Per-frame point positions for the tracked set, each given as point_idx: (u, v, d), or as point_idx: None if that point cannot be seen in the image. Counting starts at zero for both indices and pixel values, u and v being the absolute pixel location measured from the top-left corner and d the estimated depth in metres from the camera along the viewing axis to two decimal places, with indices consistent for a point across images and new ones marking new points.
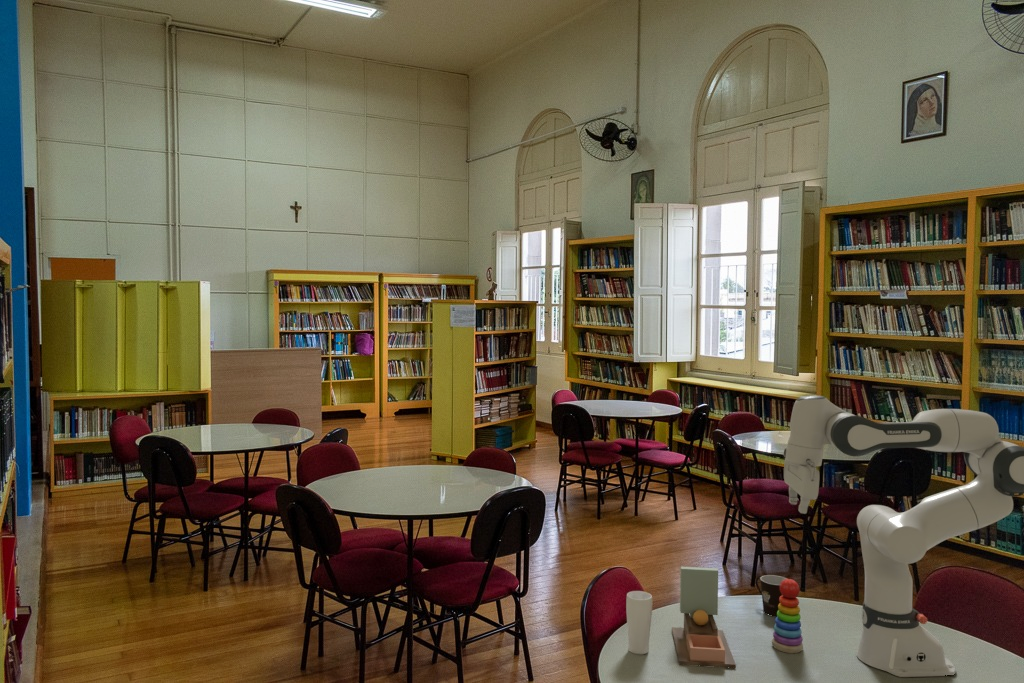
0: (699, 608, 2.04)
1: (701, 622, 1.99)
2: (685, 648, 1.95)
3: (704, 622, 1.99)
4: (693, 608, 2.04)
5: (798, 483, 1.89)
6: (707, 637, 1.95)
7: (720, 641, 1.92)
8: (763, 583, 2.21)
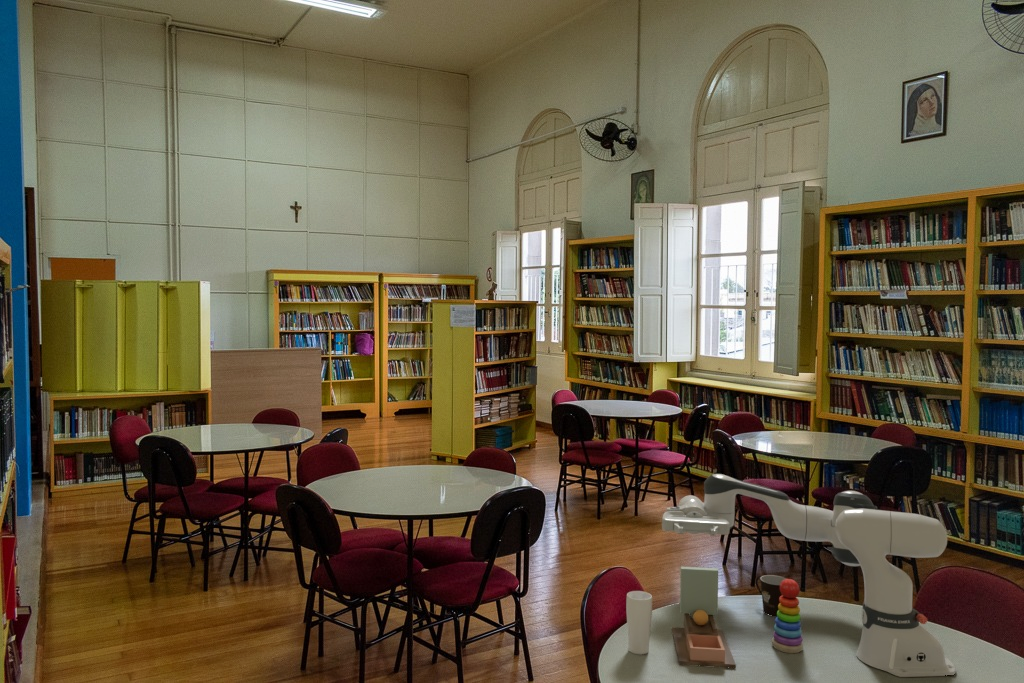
0: (699, 608, 2.04)
1: (701, 622, 1.99)
2: (685, 648, 1.95)
3: (704, 622, 1.99)
4: (693, 608, 2.04)
5: (711, 520, 2.26)
6: (707, 637, 1.95)
7: (720, 641, 1.92)
8: (763, 583, 2.21)
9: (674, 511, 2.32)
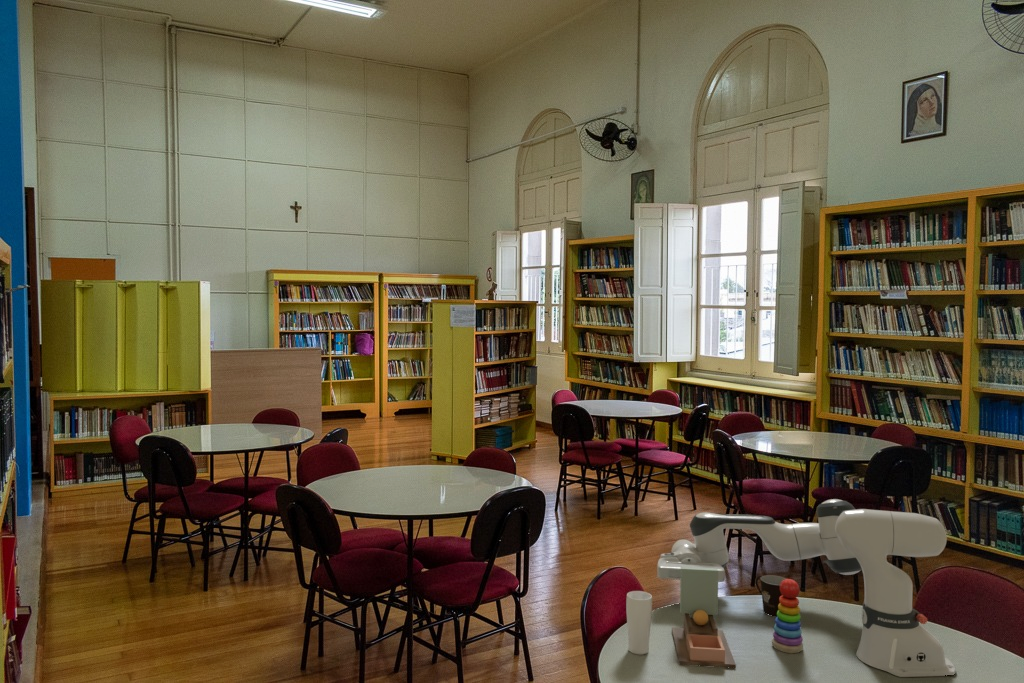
0: (699, 608, 2.04)
1: (701, 622, 1.99)
2: (685, 648, 1.95)
3: (704, 622, 1.99)
4: (693, 608, 2.04)
5: (706, 566, 2.25)
6: (707, 637, 1.95)
7: (720, 641, 1.92)
8: (763, 583, 2.21)
9: (669, 557, 2.30)
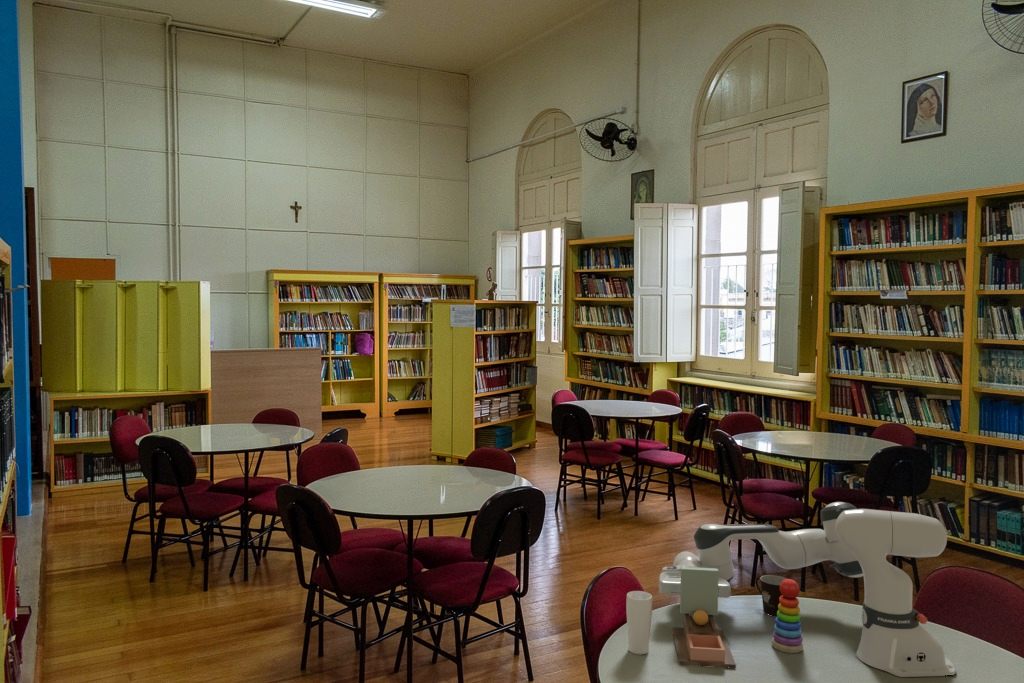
0: (699, 608, 2.04)
1: (701, 622, 1.99)
2: (685, 648, 1.95)
3: (704, 622, 1.99)
4: (693, 608, 2.04)
5: None
6: (707, 637, 1.95)
7: (720, 641, 1.92)
8: (763, 583, 2.21)
9: (671, 571, 2.18)
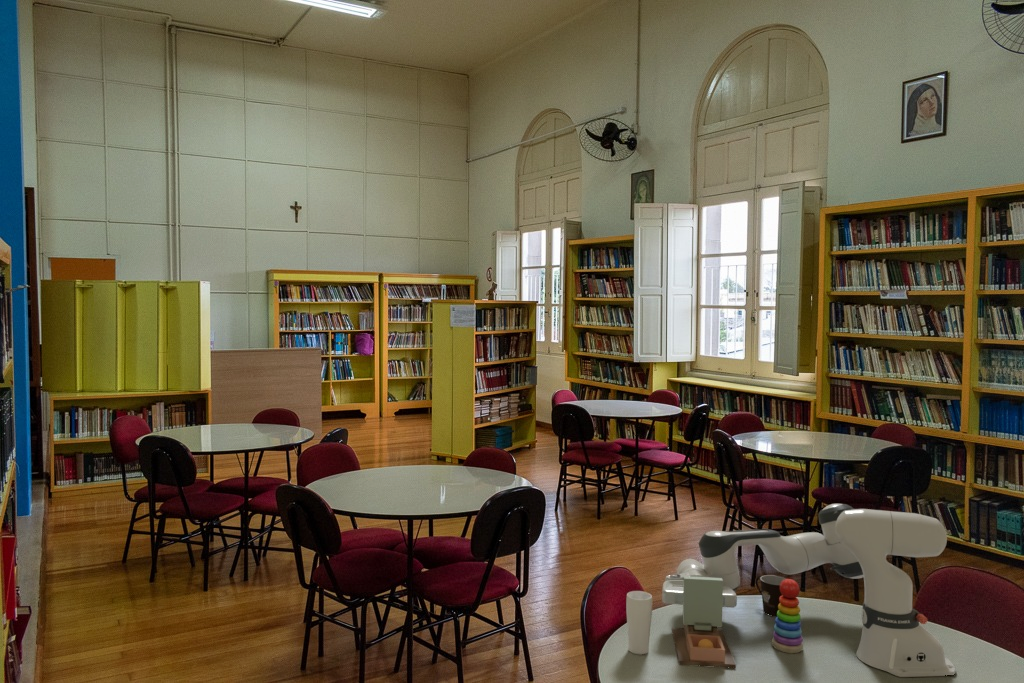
0: (703, 619, 1.96)
1: (707, 647, 1.89)
2: (685, 648, 1.95)
3: (709, 647, 1.89)
4: (697, 619, 1.97)
5: None
6: (707, 637, 1.95)
7: (720, 641, 1.92)
8: (763, 583, 2.21)
9: (675, 580, 2.10)
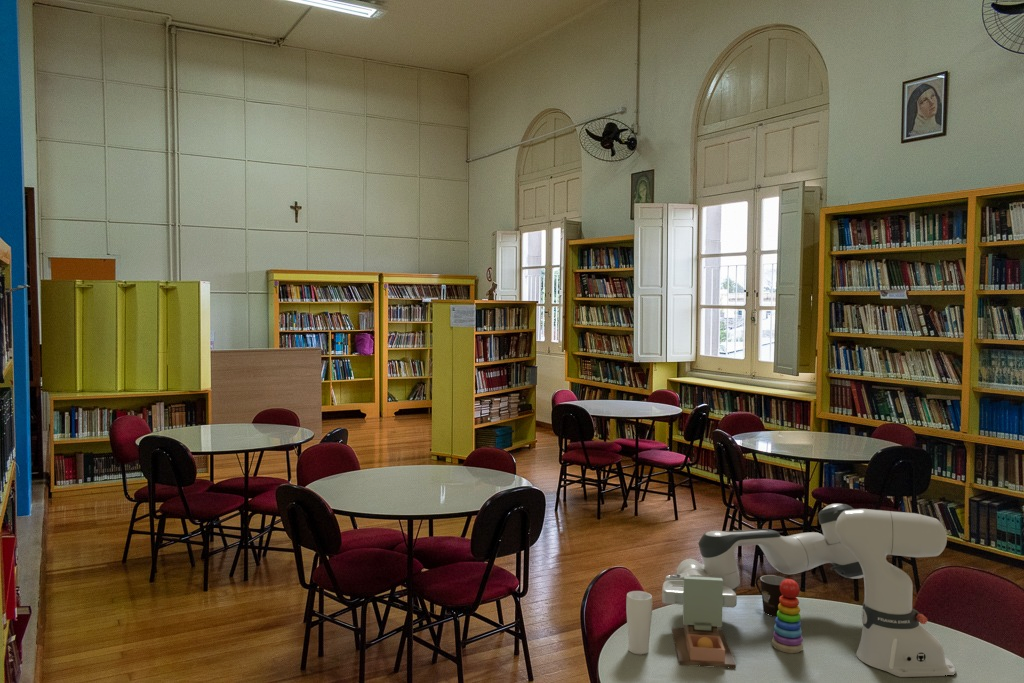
0: (703, 619, 1.96)
1: (706, 640, 1.91)
2: (685, 648, 1.95)
3: (708, 641, 1.91)
4: (697, 619, 1.97)
5: None
6: None
7: (720, 641, 1.92)
8: (763, 583, 2.21)
9: (675, 580, 2.11)
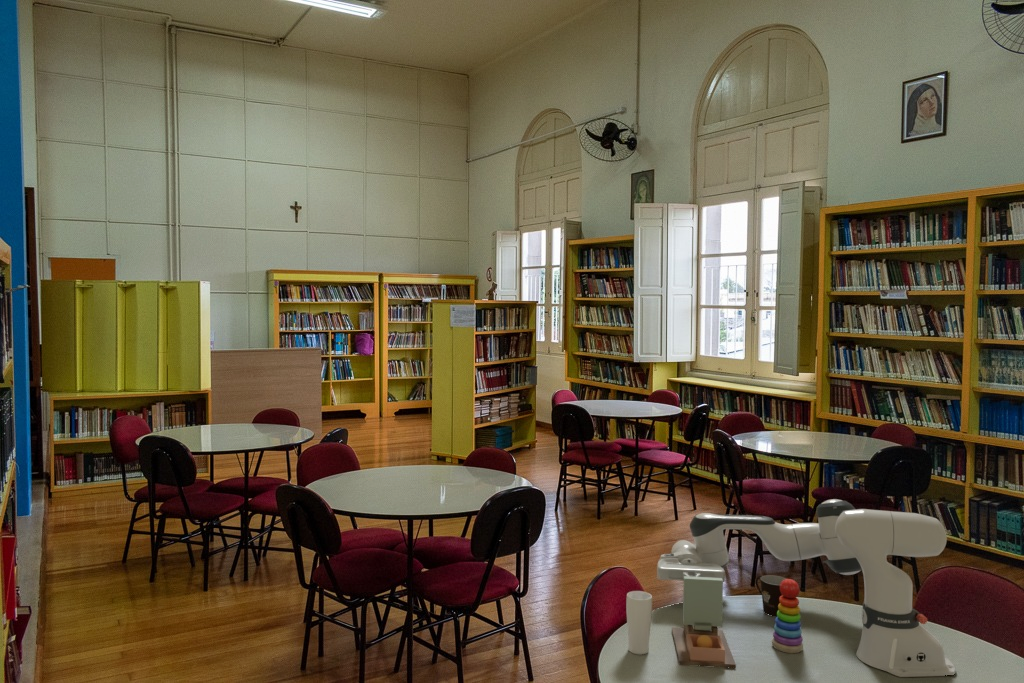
0: (703, 619, 1.96)
1: (705, 635, 1.93)
2: (685, 648, 1.95)
3: (707, 636, 1.93)
4: (697, 619, 1.97)
5: (706, 567, 2.25)
6: None
7: (720, 641, 1.92)
8: (763, 583, 2.21)
9: (669, 558, 2.30)
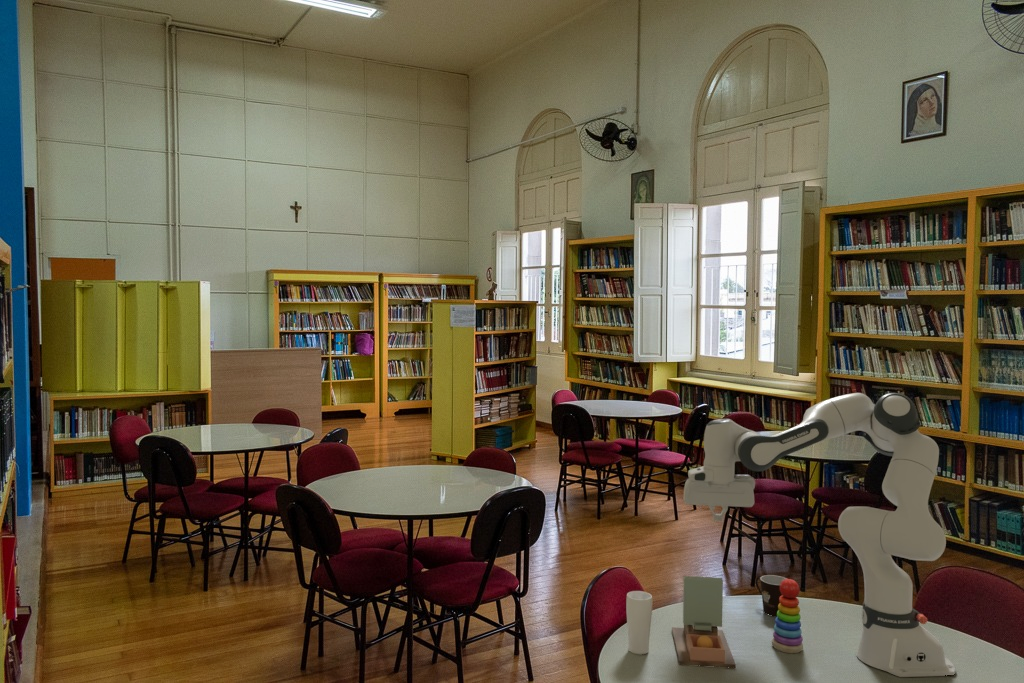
0: (703, 619, 1.96)
1: (705, 637, 1.92)
2: (685, 648, 1.95)
3: (708, 638, 1.92)
4: (697, 619, 1.97)
5: (736, 497, 2.15)
6: None
7: (720, 641, 1.92)
8: (763, 583, 2.21)
9: (698, 483, 2.15)
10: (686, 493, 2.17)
